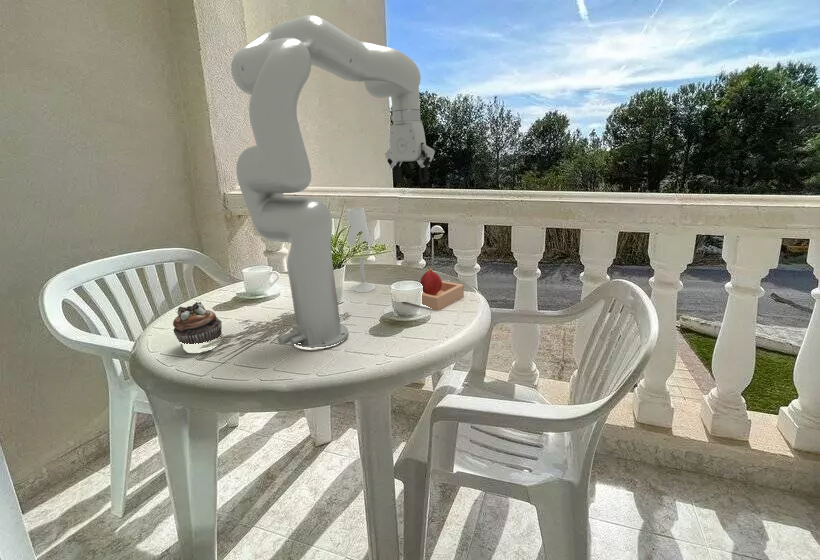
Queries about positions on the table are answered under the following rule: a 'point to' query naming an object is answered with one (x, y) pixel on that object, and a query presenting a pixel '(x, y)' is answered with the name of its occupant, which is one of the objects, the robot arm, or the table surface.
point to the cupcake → (196, 324)
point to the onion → (431, 282)
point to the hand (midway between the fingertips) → (410, 182)
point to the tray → (444, 296)
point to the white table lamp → (360, 224)
